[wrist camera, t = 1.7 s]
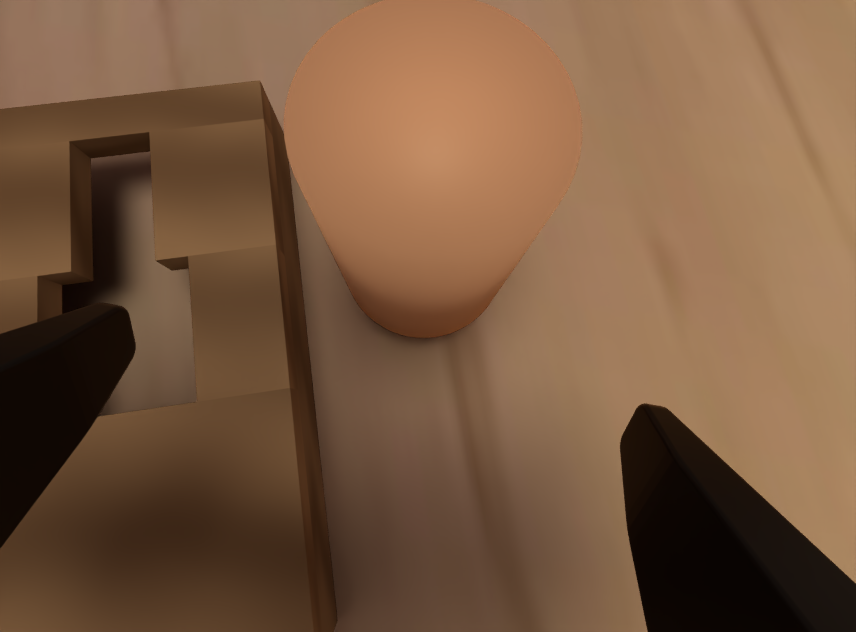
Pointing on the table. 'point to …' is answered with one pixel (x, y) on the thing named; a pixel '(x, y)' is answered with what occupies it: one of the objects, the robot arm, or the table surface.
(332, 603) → the walnut keyhole board
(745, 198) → the table surface
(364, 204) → the terracotta peg
